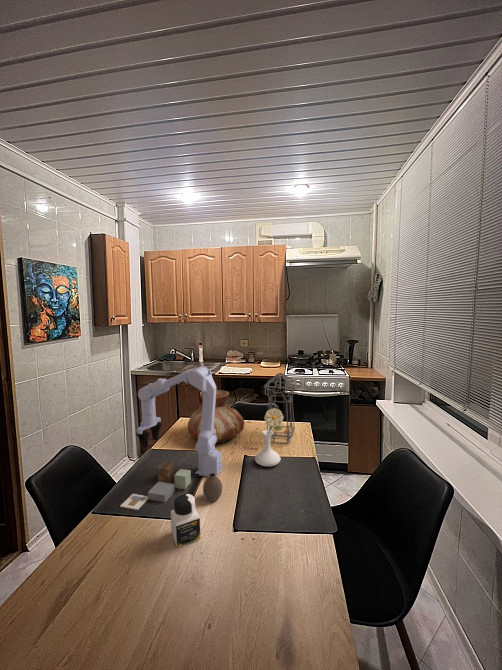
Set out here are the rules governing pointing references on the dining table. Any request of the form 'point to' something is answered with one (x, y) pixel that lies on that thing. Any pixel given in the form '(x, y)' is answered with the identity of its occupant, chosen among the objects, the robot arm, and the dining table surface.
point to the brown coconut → (212, 487)
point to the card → (134, 501)
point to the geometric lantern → (282, 401)
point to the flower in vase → (267, 454)
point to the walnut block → (166, 472)
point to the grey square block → (161, 491)
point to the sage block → (182, 478)
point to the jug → (218, 418)
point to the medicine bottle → (185, 520)
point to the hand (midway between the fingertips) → (150, 443)
